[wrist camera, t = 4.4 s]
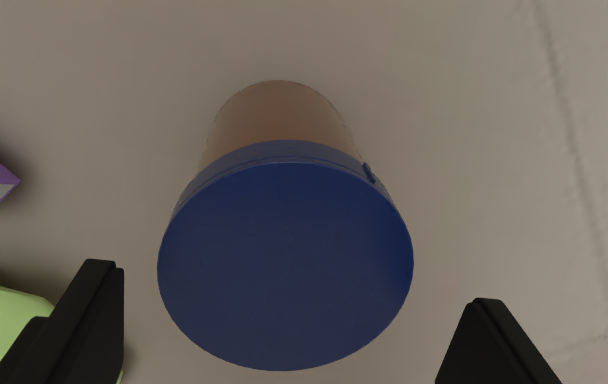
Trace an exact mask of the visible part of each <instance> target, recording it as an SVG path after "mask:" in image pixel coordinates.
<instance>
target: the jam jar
mask: <svg viewBox="0 0 608 384" xmlns="http://www.w3.org/2000/svg"><path fill="white" fill-rule="evenodd" d="M288 139H290V140H303V141H310V142H315V143H319V144H324V145H326V146H329V147H332V148H335V149H338V150H340V151H342V152H344V153H346V154H348V155H350V156H352V157H353V158H355V159H356V160H358V161H359V162H361V163H362V164H364V162H363V160H362V158H361V156H360V154H359V152H358V150H357V148H356V146H355V144H354V143H353V141H352V139H351V137H350V135H349V133H348V131H347V129H346V127H345V125H344V123H343V121H342V119H341V117H340V116H339V114H338V112H337V110H336V109H335V108H334V107H333V105H332V104H331V103H330V102H329V101H328V100H327V99H326V98H325V97H324V96H322V95H321V94H320V93H318V92H317V91H315V90H313V89H311V88H309V87H307V86H305V85H302V84H299V83H295V82H291V81H281V80H279V81H267V82H261V83H258V84H255V85H252V86H249V87H247V88H245V89H243V90H241V91H240V92H238V93H237V94H235V95H234V96H233V97H232V98H231V99H229V100H228V101H227V102H226V104H225V105H224V106H223V107H222V108H221V110H220V111H219V113H218V114H217V116H216V118H215V120H214V122H213V125H212V128H211V131H210V133H209V136H208V139H207V142H206V145H205V148H204V151H203V153H202V156H201V159H200V162H199V165H198V168H197V170H196V173H195V176H194V178H195V177H196V176H197V174H198V173H200V172H201V171H202V170H203V169H204V168H206V167H207V166H208V165H209V164H210V163H212V162H214V161H215V160H217V159H218V158H220V157H222V156H223V155H225V154H227V153H230V152H232V151H234V150H236V149H238V148H241V147H244V146H248V145H251V144H254V143H259V142H265V141H271V140H288Z"/></svg>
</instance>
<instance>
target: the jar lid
mask: <svg viewBox="0 0 608 384" xmlns="http://www.w3.org/2000/svg"><path fill="white" fill-rule="evenodd" d="M413 267H414V257H413V247H412V243H411V238H410V235H409V232H408V230H407V227H406V225H405V223H404V221H403V219H402V217H401V215H400V214H399V212H398V210H397V208H396V206H395V204H394V203H393V201H392V199H391V197H390V196H389V194H388V192H387V190H386V189H385V187H384V185H383V184H382V183H381V182H380V181H379V179H378V178H377V177H376V176H375V175H374V174H373V173H372V172H371V170H370V168H369V166H368V164H367V163H364V164H362V163H361V162H359V161H358V160H356V159H355V158H353V157H352V156H350V155H348V154H346V153H344V152H342V151H340V150H338V149H335V148H332V147H329V146H326V145H324V144H319V143H315V142H310V141H303V140H290V139H288V140H271V141H265V142H259V143H254V144H251V145H248V146H244V147H241V148H238V149H236V150H234V151H232V152H230V153H227V154H225V155H223V156H222V157H220V158H218V159H217V160H215V161H214V162H212V163H210V164H209V165H208V166H207V167H206V168H204V169H203V170H202V171H201V172H200V173H198V174H197V176H196V177H195V178H194V179H193V180H192V181H191V182H190V183H189V184H188V186H187V187H186V189H185V190H184V192H183V193H182V195H181V196H180V198H179V200H178V202H177V204H176V206H175V208H174V211H173V213H172V216H171V218H170V221H169V224H168V226H167V229H166V231H165V234H164V236H163V239H162V243H161V246H160V249H159V254H158V262H157V279H158V285H159V290H160V294H161V297H162V300H163V302H164V305H165V307H166V309H167V311H168V313H169V314H170V316H171V318H172V320H173V321H174V322H175V323H176V325H177V326H178V327H179V329H180V330H181V331H182V332H183V333H184V334H185V335H186V336H187V337H188V338H189V339H190V340H191V341H193V342H194V343H195V344H197V345H198V346H199V347H201V348H202V349H204V350H205V351H207V352H209V353H210V354H212V355H214V356H216V357H218V358H220V359H223V360H225V361H227V362H230V363H233V364H236V365H239V366H243V367H248V368H253V369H259V370H267V371H293V370H302V369H308V368H314V367H318V366H322V365H325V364H329V363H331V362H334V361H337V360H339V359H342V358H344V357H346V356H348V355H350V354H352V353H354V352H356V351H358V350H359V349H361V348H362V347H364V346H366V345H367V344H368V343H370V342H371V341H372V340H373V339H375V338H376V337H377V336H378V335H379V334H380V333H381V332H382V331H383V330H384V329H385V328H386V327H387V326H388V325H389V324H390V323H391V322H392V320H393V319H394V318H395V316H396V315H397V314H398V312H399V310H400V309H401V307H402V305H403V304H404V301H405V299H406V297H407V294H408V292H409V289H410V285H411V281H412V277H413Z"/></svg>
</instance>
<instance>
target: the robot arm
mask: <svg viewBox="0 0 608 384" xmlns="http://www.w3.org/2000/svg"><path fill="white" fill-rule="evenodd" d="M123 356H124V270H123V269H122V268H116V264H115V262H114V261H109V260H99V259H86V260H85V262H84V263H83V265H82V266H81V268H80V269H79V271H78V272H77V274H76V275H75V277H74V279H73V280H72V282H71V283H70V285H69V286H68V288H67V289H66V291H65V292H64V294H63V295H62V297H61V299H60V300H59V302H58V303H57V305H56V306H55V308H54V309H53V311H52V312H51V314H50V316H49V317H42V316H35V317H33V318H31V319H30V321H29V322H28V323H27V324H26V325H25V327H24V328H23V330H22V331H21V333H20V334H19V335H18V337H17V338H16V340H15V341H14V343H13V344H12V345H11V347H10V348H9V350H8V351H7V353H6V354H5V355H4V357H3V358H2V360H1V361H0V384H116V383H117V381H118V378H119V375H120V372H121V369H122V364H123ZM435 384H562V383H561V381H560V380H559V379H558V377H557V376H556V374H555V373H554V372H553V370H552V369H551V368H550V366H549V365H548V363H547V362H546V361H545V359H544V358H543V357H542V355H541V354H540V352H539V351H538V350H537V348H536V347H535V345H534V344H533V343H532V341H531V340H530V339H529V337H528V336H527V334H526V333H525V332H524V330H523V329H522V328H521V326H520V325H519V323H518V322H517V321H516V319H515V318H514V317H513V315H512V314H511V312H510V311H509V310H508V308H507V307H506V305H505V304H504V303H503V302H502V301H501V300H498V299H488V298H475V299H474V300H473V302H472V303H468V304H467V305H466V307H465V309H464V311H463V314H462V316H461V319H460V321H459V323H458V326H457V328H456V331H455V333H454V336H453V338H452V340H451V343H450V345H449V348H448V350H447V352H446V355H445V357H444V360H443V362H442V365H441V367H440V369H439V372H438V374H437V377H436V379H435Z"/></svg>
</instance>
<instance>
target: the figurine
mask: <svg viewBox="0 0 608 384" xmlns="http://www.w3.org/2000/svg"><path fill="white" fill-rule="evenodd" d="M20 182H21V180H20V179H19V178H17V177H16V176H15V175H14V174H13V173H12V172H10V171H9V170H8V169H7V168H6V167H4V166H3V165H2V164H1V163H0V202H1V201H2V200H3V199H4V198H5V197H6V196H7V195H8V194H9V193H10V192H11V191H12V190H13V189H14V188H15V187H16V186H17V185H18V184H19V183H20ZM54 308H55V307H54V306H53V305H52V304H51V303H50V302H49V301H47V300H46V299H45V298H44V297H40V296H36V295H32V294H28V293H24V292H21V291H17V290H13V289H9V288H5V287H2V286H0V361H1V360H2V358H3V357H4V355H5V354H6V353H7V351H8V350H9V348H10V347H11V345H12V344H13V343H14V341H15V340H16V338H17V337H18V335H19V334H20V333H21V331H22V330H23V328H24V327H25V325H26V324H27V323H28V322H29V321H30V319H31V318H33V317H35V316H42V317H49V316H50V314H51V312H52V311H53V309H54ZM122 375H123V372H122V369H121V372H120V375H119V378H118V381H117V383H116V384H119V383H120V381H121V378H122Z"/></svg>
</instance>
